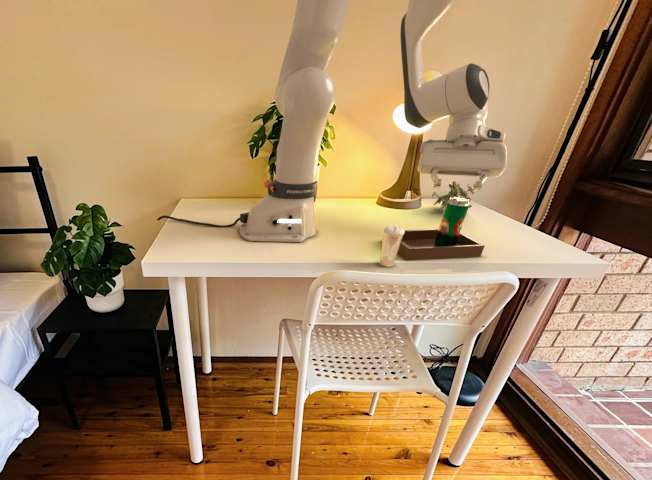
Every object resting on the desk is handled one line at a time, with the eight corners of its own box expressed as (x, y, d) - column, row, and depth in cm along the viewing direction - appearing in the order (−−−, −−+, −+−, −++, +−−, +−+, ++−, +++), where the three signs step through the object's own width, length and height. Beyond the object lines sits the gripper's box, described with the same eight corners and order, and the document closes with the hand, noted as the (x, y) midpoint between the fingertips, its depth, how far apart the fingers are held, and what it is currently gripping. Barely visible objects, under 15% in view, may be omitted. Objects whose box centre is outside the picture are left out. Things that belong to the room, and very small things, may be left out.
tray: (406, 260, 91) (409, 249, 89) (382, 241, 102) (385, 231, 101) (480, 256, 93) (485, 245, 91) (449, 238, 104) (452, 228, 102)
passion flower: (456, 228, 128) (483, 204, 117) (427, 222, 127) (451, 198, 116) (452, 202, 132) (478, 177, 121) (424, 196, 131) (447, 170, 120)
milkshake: (375, 267, 87) (384, 225, 82) (376, 259, 92) (386, 218, 86) (395, 270, 86) (406, 227, 80) (396, 262, 90) (406, 220, 84)
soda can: (430, 243, 100) (444, 196, 93) (449, 243, 100) (464, 196, 93) (438, 249, 96) (453, 201, 89) (458, 250, 95) (474, 201, 89)
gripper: (424, 131, 98) (416, 178, 96) (513, 133, 92) (506, 183, 90) (418, 147, 104) (411, 192, 102) (501, 150, 98) (495, 197, 96)
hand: (456, 188), depth 96 cm, fingers open, 8 cm apart
